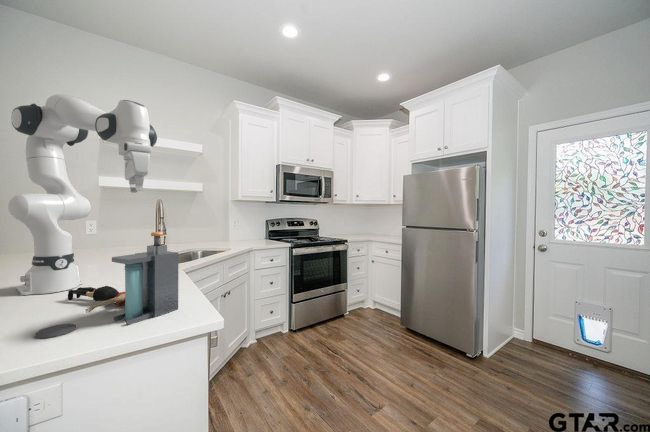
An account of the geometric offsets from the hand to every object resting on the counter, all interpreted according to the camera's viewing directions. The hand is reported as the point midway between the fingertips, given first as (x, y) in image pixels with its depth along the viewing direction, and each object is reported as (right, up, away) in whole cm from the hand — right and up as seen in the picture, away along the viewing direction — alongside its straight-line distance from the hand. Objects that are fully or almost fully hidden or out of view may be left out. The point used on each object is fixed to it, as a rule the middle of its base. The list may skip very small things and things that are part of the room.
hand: (136, 191), depth 91 cm
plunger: (+8, -18, -2) cm, 20 cm away
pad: (-10, -40, -17) cm, 44 cm away
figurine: (-15, -39, +6) cm, 42 cm away
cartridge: (+5, -40, -8) cm, 41 cm away
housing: (+6, -40, -5) cm, 40 cm away
